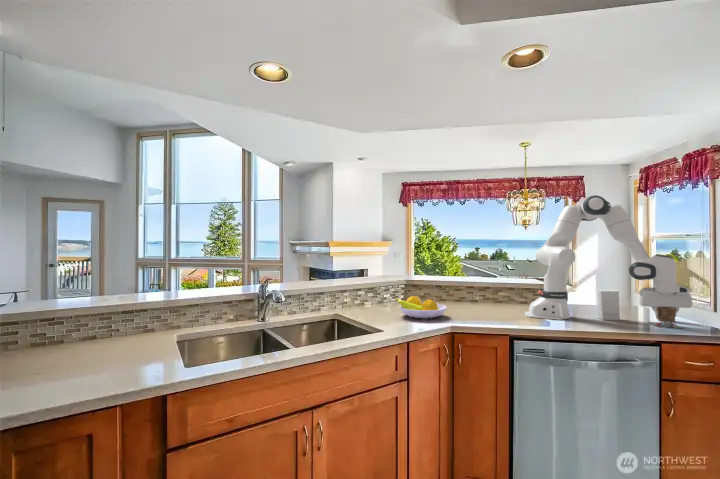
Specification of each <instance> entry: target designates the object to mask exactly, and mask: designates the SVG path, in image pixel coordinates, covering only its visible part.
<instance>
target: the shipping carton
mask: <svg viewBox="0 0 720 479" xmlns="http://www.w3.org/2000/svg"><path fill="white" fill-rule="evenodd" d="M656 310H657V312H659V313H660V316H655V318H657V319H656V320H658V321H659V320H660V321H659V322H661V321H668V322H670V323H675V322H676V317H675V308H673V307H657V309H656Z"/></svg>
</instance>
